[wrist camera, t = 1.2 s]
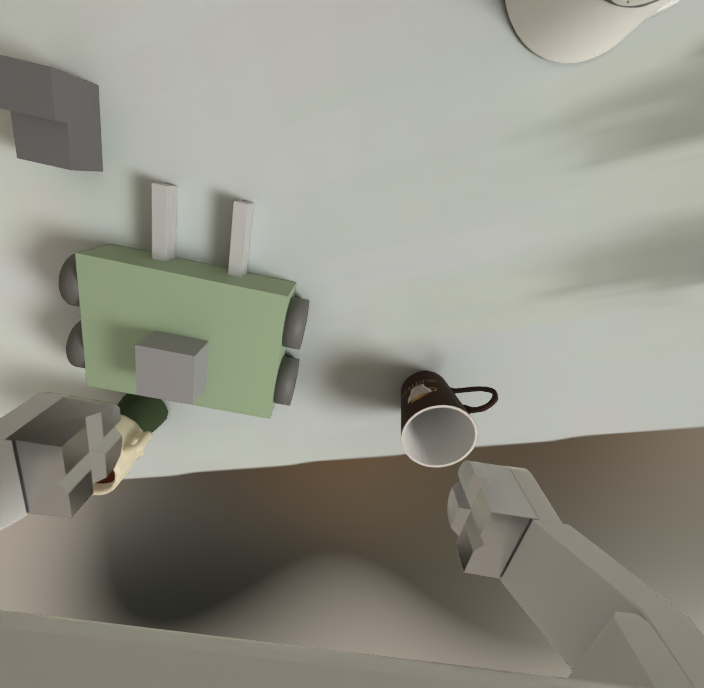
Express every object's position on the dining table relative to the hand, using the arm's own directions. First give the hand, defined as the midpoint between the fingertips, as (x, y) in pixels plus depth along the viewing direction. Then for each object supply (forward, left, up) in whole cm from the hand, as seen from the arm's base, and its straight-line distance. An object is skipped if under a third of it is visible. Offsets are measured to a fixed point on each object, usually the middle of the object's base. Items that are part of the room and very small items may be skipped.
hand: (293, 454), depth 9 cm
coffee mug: (+17, +16, -37) cm, 44 cm away
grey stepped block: (-6, -29, -37) cm, 48 cm away
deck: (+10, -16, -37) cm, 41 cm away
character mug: (+28, -23, -37) cm, 52 cm away
